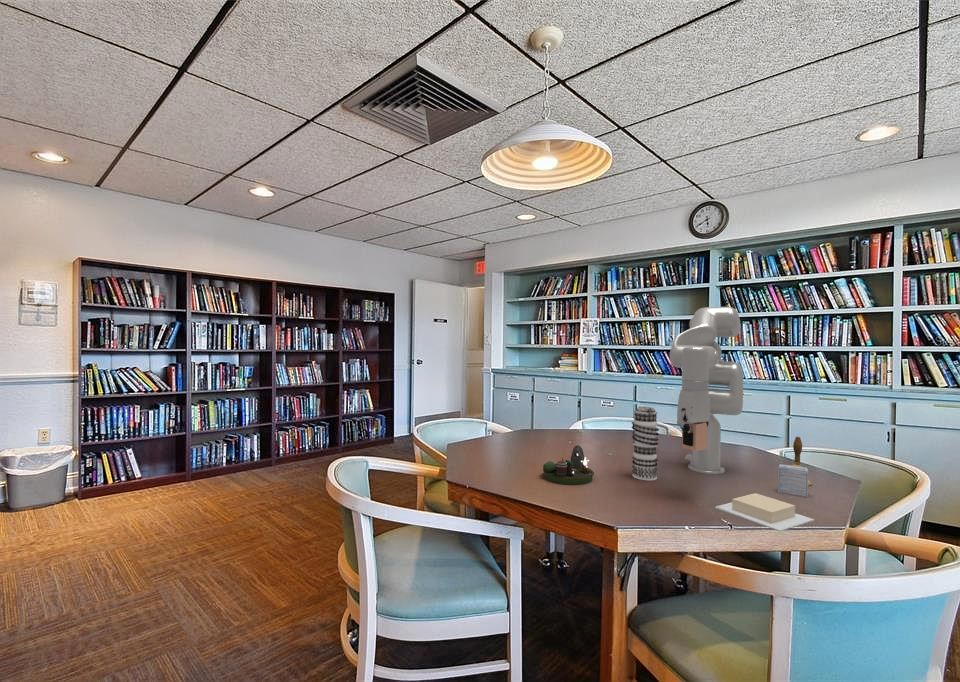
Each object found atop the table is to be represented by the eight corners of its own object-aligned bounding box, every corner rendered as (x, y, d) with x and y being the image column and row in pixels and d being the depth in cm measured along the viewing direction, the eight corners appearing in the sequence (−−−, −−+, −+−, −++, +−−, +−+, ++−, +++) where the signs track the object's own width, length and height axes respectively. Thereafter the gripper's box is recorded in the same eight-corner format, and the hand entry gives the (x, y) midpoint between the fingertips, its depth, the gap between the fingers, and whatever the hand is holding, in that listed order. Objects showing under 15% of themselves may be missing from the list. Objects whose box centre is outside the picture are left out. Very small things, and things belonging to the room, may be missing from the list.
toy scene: (603, 478, 160) (604, 448, 160) (574, 489, 147) (575, 457, 147) (562, 467, 173) (562, 440, 173) (532, 477, 160) (532, 447, 160)
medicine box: (807, 494, 145) (807, 467, 145) (808, 498, 141) (808, 470, 141) (778, 489, 149) (778, 463, 149) (778, 493, 146) (778, 466, 146)
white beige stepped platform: (715, 509, 131) (715, 496, 131) (748, 501, 138) (749, 488, 138) (780, 534, 115) (780, 518, 115) (814, 523, 122) (814, 508, 122)
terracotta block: (681, 447, 140) (682, 422, 140) (692, 445, 143) (692, 420, 143) (695, 451, 136) (696, 424, 136) (706, 449, 138) (706, 423, 138)
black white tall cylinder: (626, 473, 166) (627, 405, 165) (651, 472, 166) (652, 405, 166) (637, 481, 156) (638, 409, 156) (662, 480, 157) (663, 409, 157)
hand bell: (783, 477, 163) (784, 433, 163) (812, 481, 158) (813, 436, 157) (781, 482, 156) (782, 437, 156) (810, 487, 151) (811, 440, 151)
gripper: (702, 383, 146) (701, 439, 147) (665, 386, 139) (665, 444, 139) (723, 386, 140) (722, 444, 140) (686, 388, 132) (685, 450, 132)
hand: (694, 443), depth 139 cm, fingers closed on terracotta block, 5 cm apart
